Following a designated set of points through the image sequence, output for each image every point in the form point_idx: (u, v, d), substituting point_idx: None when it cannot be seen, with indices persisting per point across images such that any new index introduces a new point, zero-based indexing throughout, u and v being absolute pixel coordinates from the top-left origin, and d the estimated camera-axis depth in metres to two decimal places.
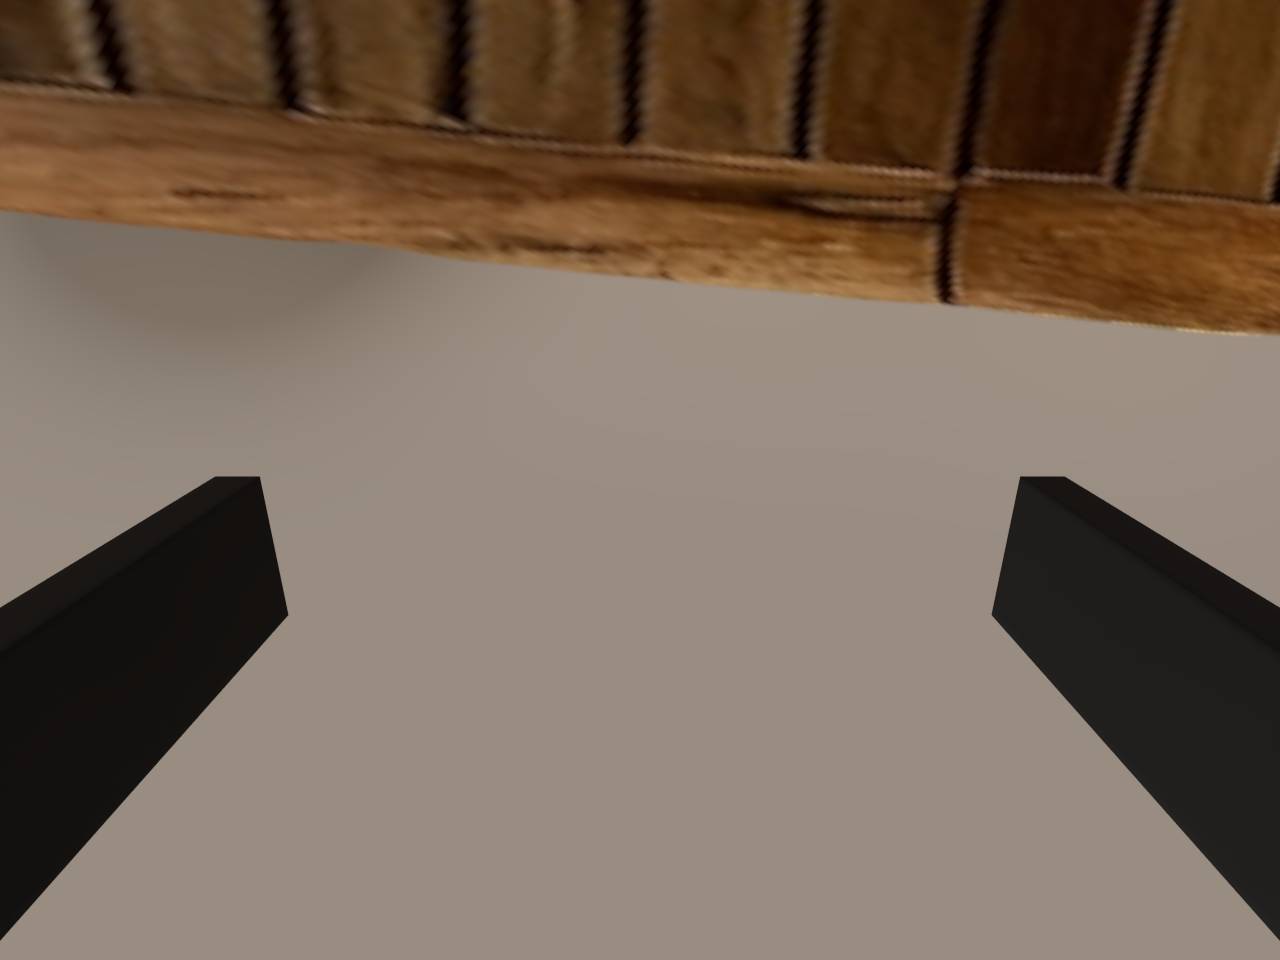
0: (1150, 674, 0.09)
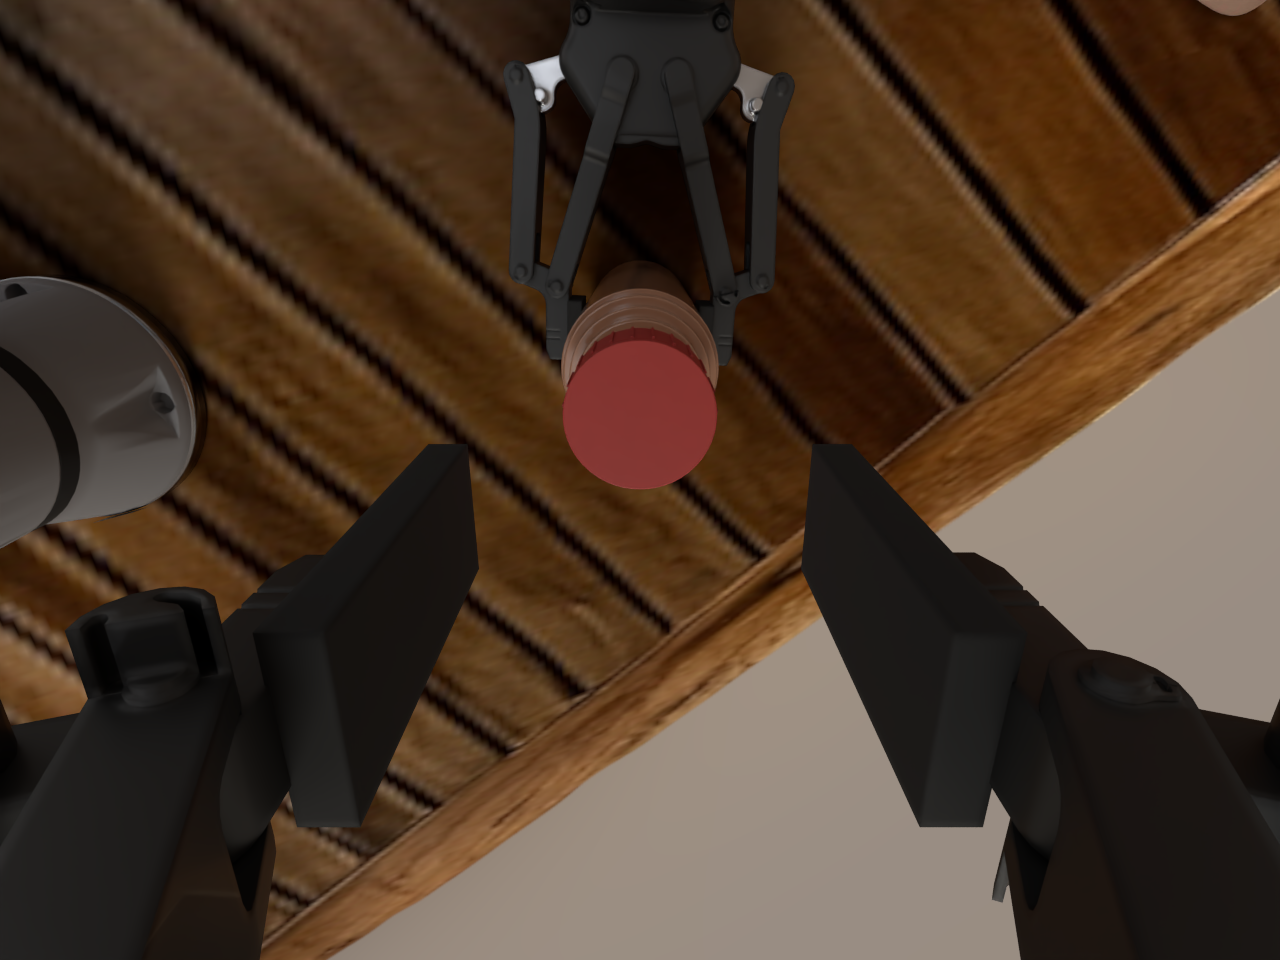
0: (862, 601, 0.10)
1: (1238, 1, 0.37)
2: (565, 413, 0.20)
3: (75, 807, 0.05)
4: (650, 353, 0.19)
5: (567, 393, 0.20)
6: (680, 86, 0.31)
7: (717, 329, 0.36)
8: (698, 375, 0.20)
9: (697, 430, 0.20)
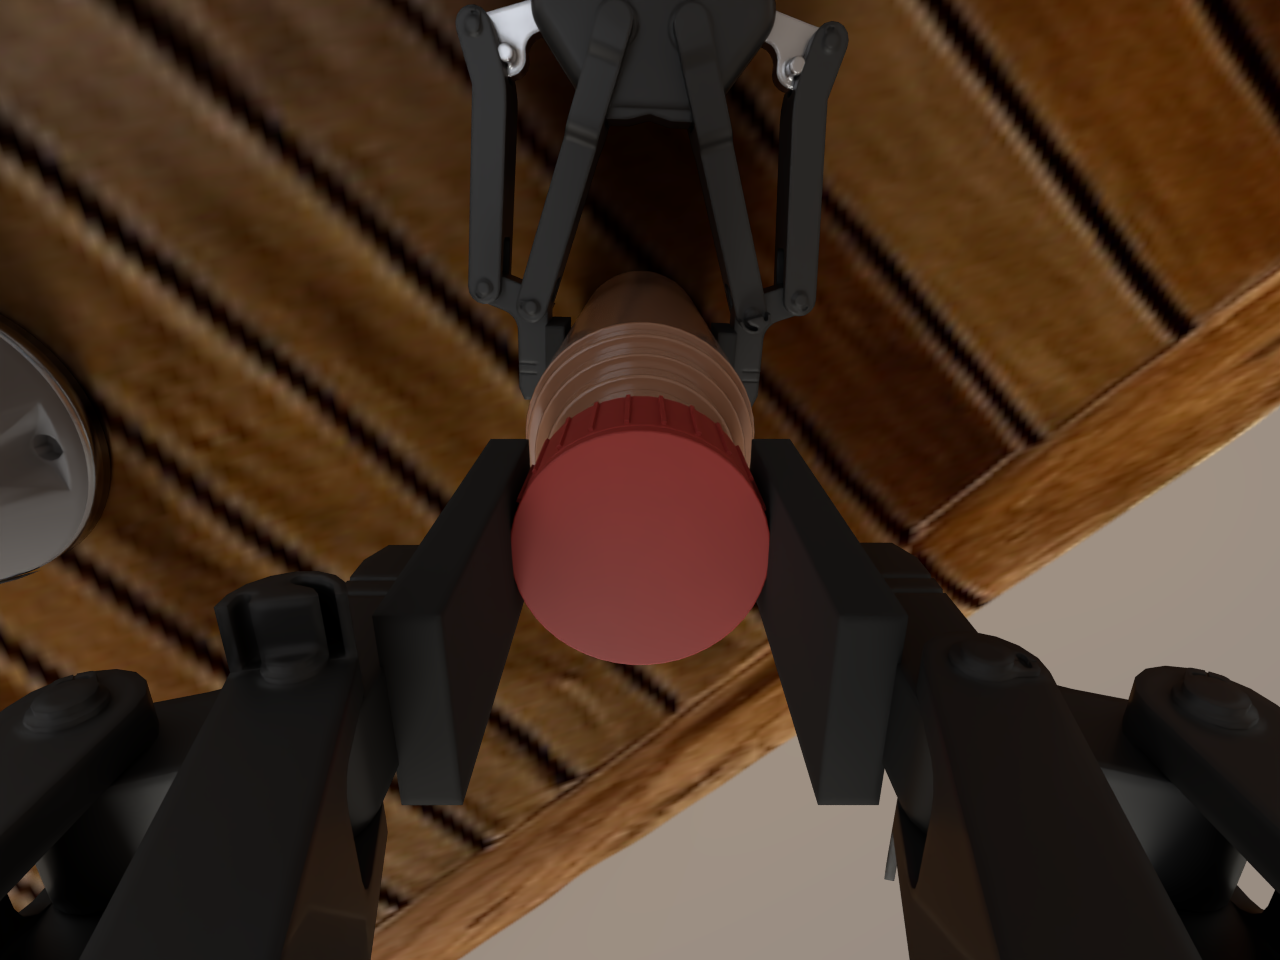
0: (783, 590, 0.11)
1: None
2: (514, 549, 0.12)
3: (221, 776, 0.06)
4: (658, 452, 0.11)
5: (516, 517, 0.12)
6: (695, 39, 0.23)
7: (740, 361, 0.28)
8: (740, 488, 0.11)
9: (737, 575, 0.12)
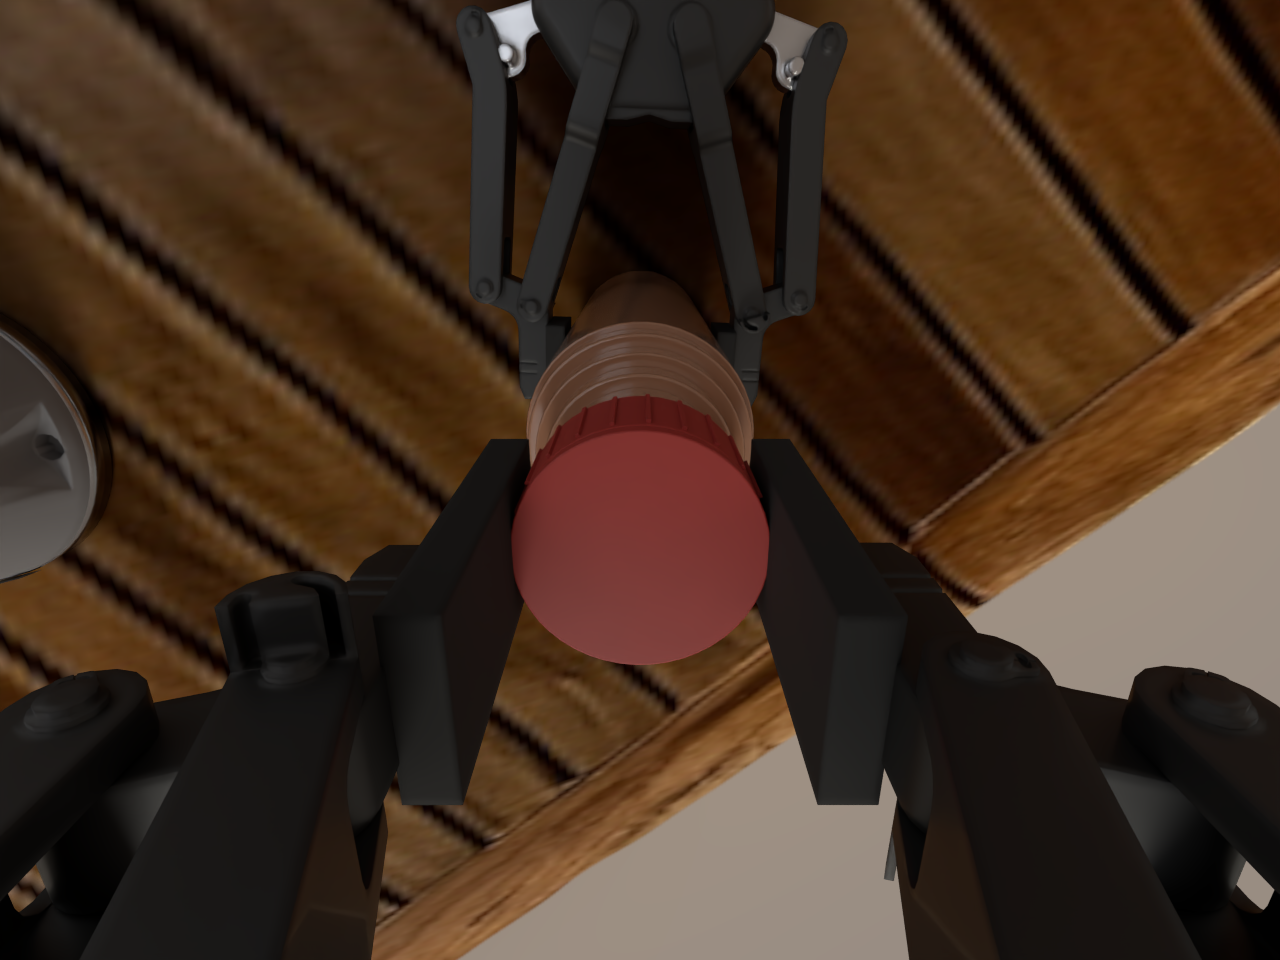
0: (782, 590, 0.11)
1: None
2: (622, 660, 0.13)
3: (222, 776, 0.06)
4: (532, 530, 0.12)
5: (590, 653, 0.13)
6: (695, 40, 0.23)
7: (739, 361, 0.28)
8: (573, 458, 0.11)
9: (673, 465, 0.11)
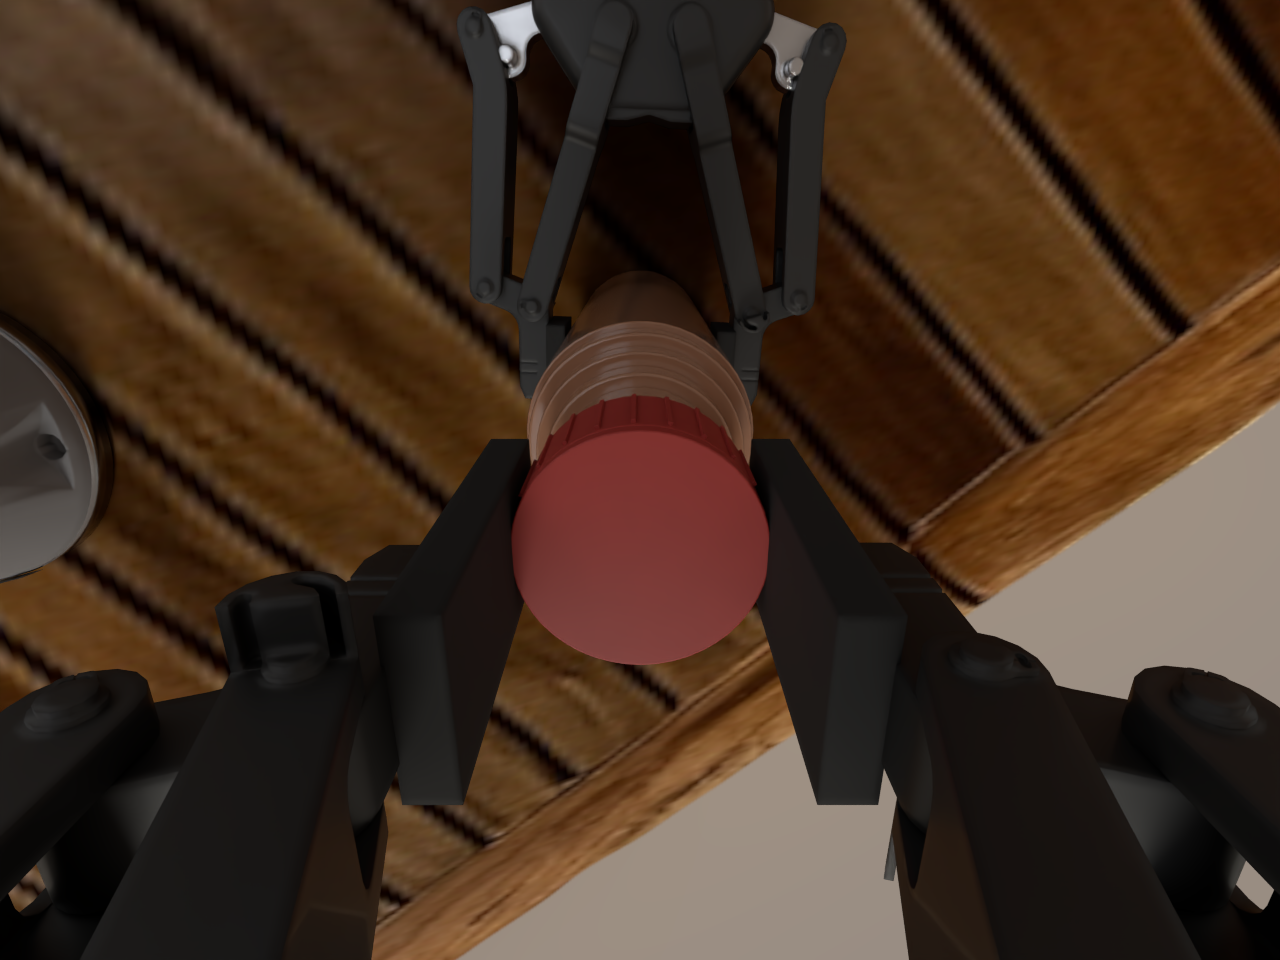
0: (781, 590, 0.11)
1: None
2: (760, 582, 0.12)
3: (222, 776, 0.06)
4: (605, 643, 0.13)
5: (747, 610, 0.12)
6: (694, 40, 0.23)
7: (739, 360, 0.28)
8: (534, 602, 0.12)
9: (546, 519, 0.12)
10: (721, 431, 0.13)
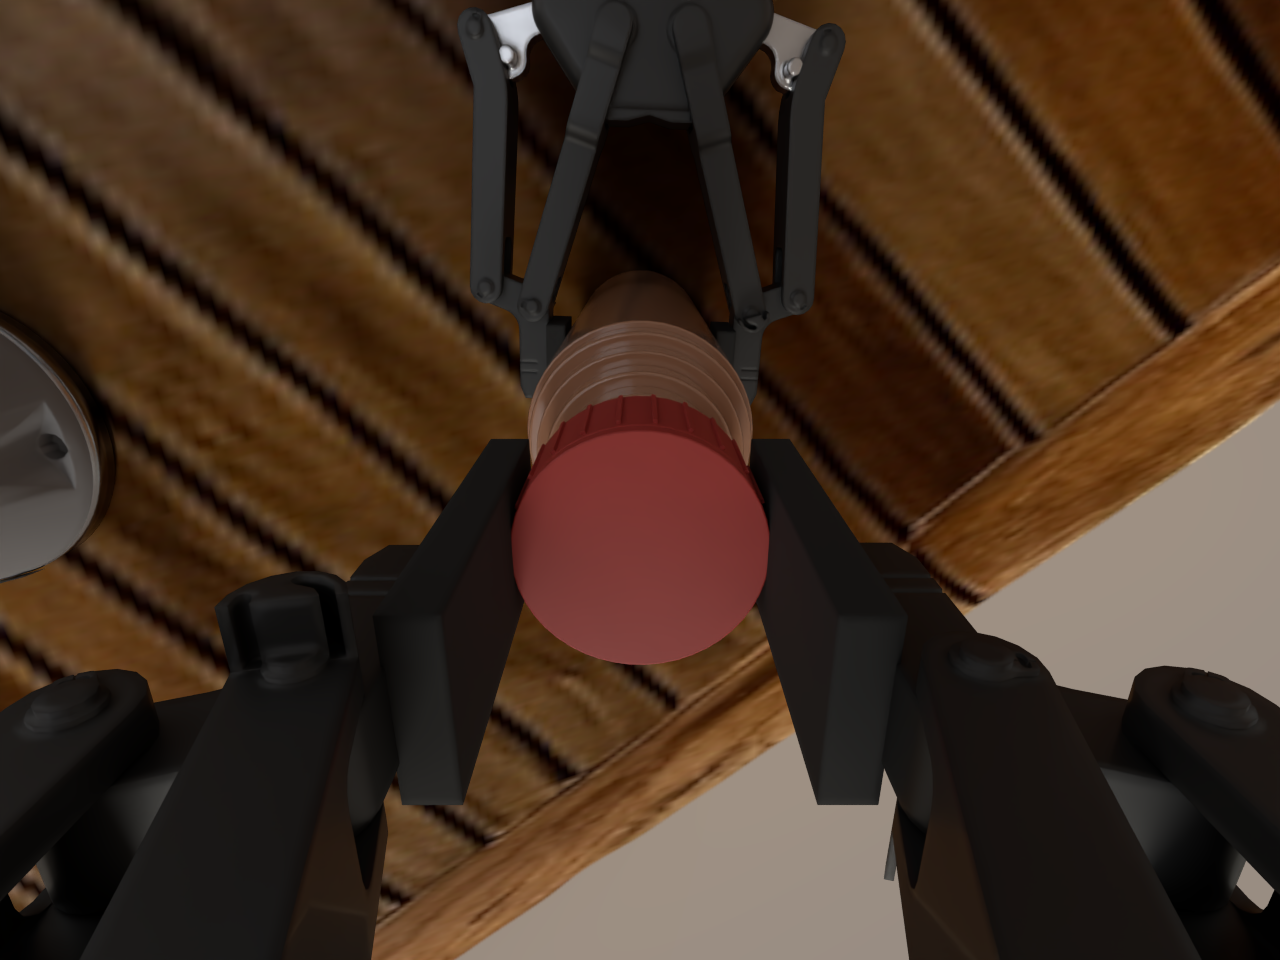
0: (782, 590, 0.11)
1: None
2: (684, 442, 0.11)
3: (223, 776, 0.06)
4: (737, 596, 0.12)
5: (717, 456, 0.11)
6: (693, 41, 0.23)
7: (739, 360, 0.28)
8: (680, 651, 0.13)
9: (594, 631, 0.12)
10: None
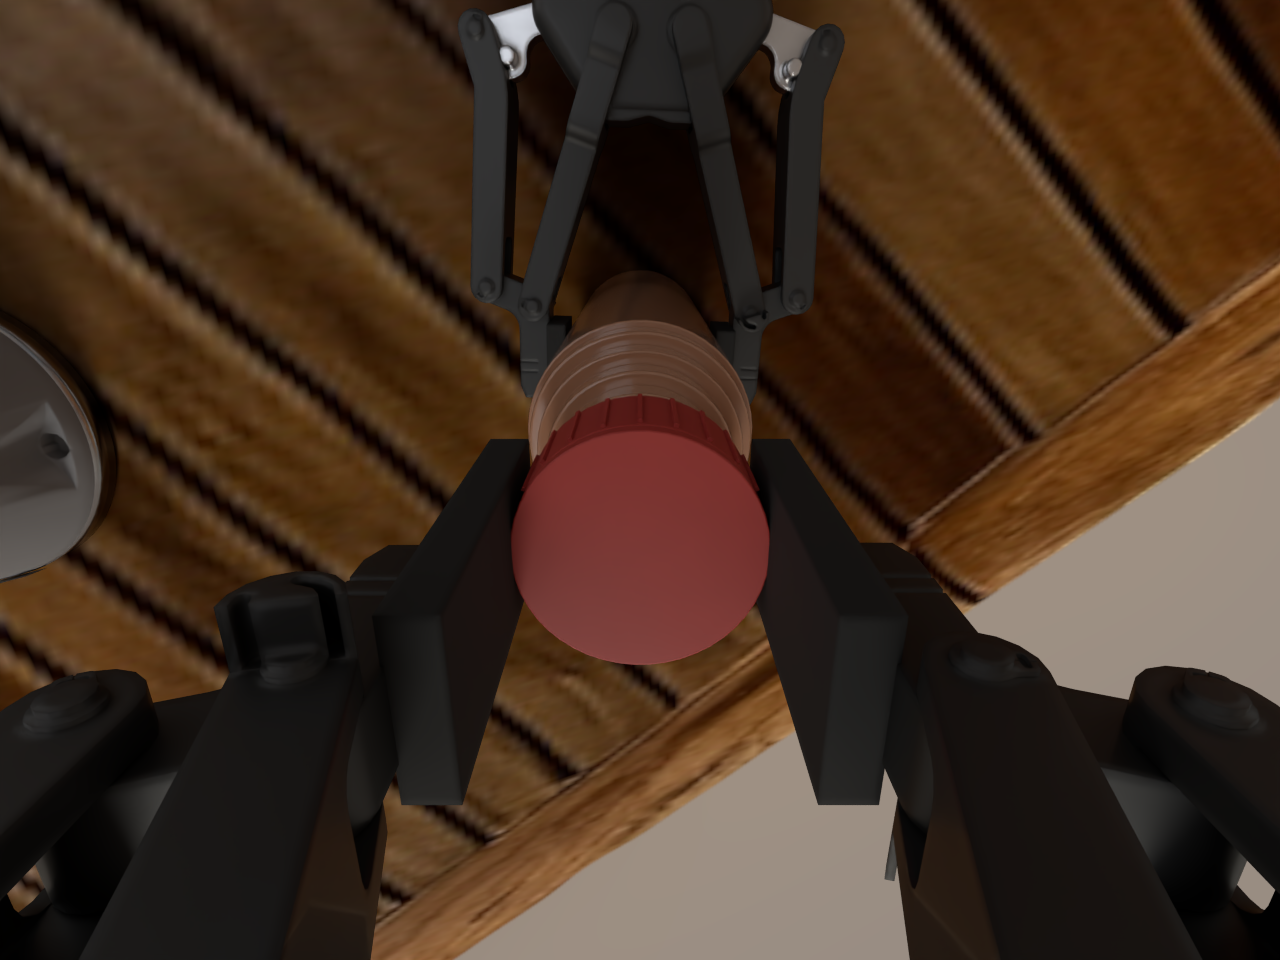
0: (782, 590, 0.11)
1: None
2: (522, 507, 0.12)
3: (221, 776, 0.06)
4: (698, 465, 0.11)
5: (538, 477, 0.11)
6: (693, 42, 0.23)
7: (738, 359, 0.29)
8: (758, 526, 0.12)
9: (721, 604, 0.12)
10: None
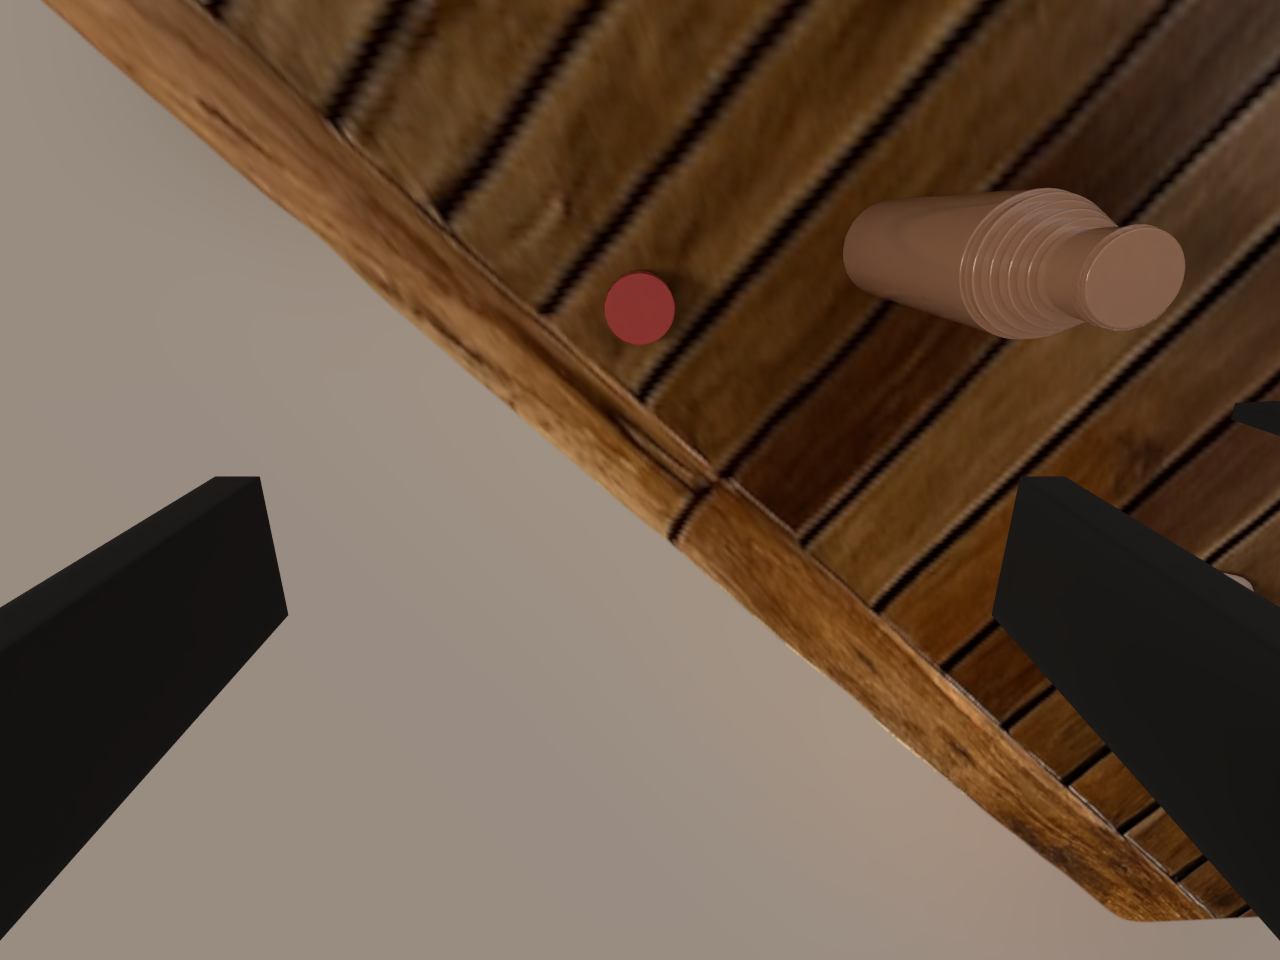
0: (1151, 674, 0.09)
1: None
2: (609, 295, 0.44)
3: None
4: (655, 283, 0.44)
5: (613, 286, 0.44)
6: None
7: None
8: (671, 300, 0.44)
9: (662, 325, 0.45)
10: None
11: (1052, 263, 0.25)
